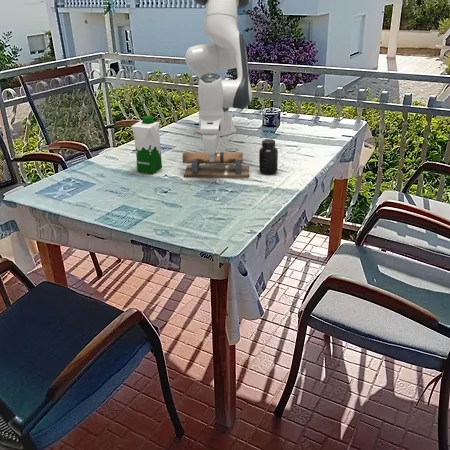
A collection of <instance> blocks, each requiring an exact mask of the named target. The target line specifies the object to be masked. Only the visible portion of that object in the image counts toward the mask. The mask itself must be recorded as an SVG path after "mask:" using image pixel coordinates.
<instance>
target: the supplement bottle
mask: <svg viewBox="0 0 450 450" xmlns="http://www.w3.org/2000/svg"><path fill="white" fill-rule="evenodd" d="M258 152H259V153H258V154H259V155H258V157H259V159H258V163H259V164H258V169H259V170H258V171H259V173H260V174H261V175H265V176H272V175H275V174H277V172H278V167H279V166H278V163H279V161H278V160H279V159H278V156H279V150H278V148H277V147H276V140H275V139H271V138H268V139H267V138H266V139H263V140H262V141H261V147H260V148H259V151H258Z"/></svg>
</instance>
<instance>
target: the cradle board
mask: <svg viewBox="0 0 450 450" xmlns="http://www.w3.org/2000/svg"><path fill="white" fill-rule="evenodd" d="M250 167H251V166H250V165H249V164H248V165H244V164H242V168H241V174H236V172H235V165H234V164H232V165H230V164H223V165H222V164H217V165H216V164H214V165H213V164H210V165H209V164H200V167H199V170H198V174H192V165H191V164H187V165H186V167H185V170H184V173H183V178H193V179H194V178H196V179H198V178H203V179H204V178H206V179H207V178H211V179H212V178H213V179H215V178H216V179H217V178H218V179H219V178H220V179H224V178H225V179H229V178H230V179H232V178H233V179H249V178H250Z"/></svg>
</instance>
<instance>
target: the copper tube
mask: <svg viewBox="0 0 450 450" xmlns="http://www.w3.org/2000/svg"><path fill="white" fill-rule="evenodd" d="M243 154H244V153H243V152H224V151H223V152H216V153H215V155H214V156H215V160H214V162H210V161H209V155H205V153H204V152H182V157H181V158H182V163H183V164H191V161H192V160H197V163H200V164H217V165H222V164H223V165H230V164H232V165H234V164H235V161H236V160H241V164H242V165H244V164H243V160H244V157H243V156H244V155H243Z"/></svg>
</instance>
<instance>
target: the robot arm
mask: <svg viewBox="0 0 450 450" xmlns="http://www.w3.org/2000/svg"><path fill="white" fill-rule="evenodd" d="M194 2H195V3H196V4H197V5H199V6H203V7H205V11H204V14H205V15H204V22H203V23H204V24H203V25H204V26H203V29H204V30H203V31H204V33H205V35H206V36H207V37H208V38H209V40H211V42H212V43H206V44H205V43H204V44H196V45H193V46H190V47H188V49H187V50H186V52H185V56H184V59H185V64H186V66H187V67H188V69H189V70H190V71H191V72H193V73H194V74H195V75H196V76H197V78H198V79H199V80H198V90H197V99H198V100H197V102H198V105H199V111H198V120H199V121H198V123H199V124H198V125H199V127H198V128H197V129H196V131H195V132H196V133H198V134H201V135H202V145H203V153H205V155H209V161H210V162H214V160H215V156H214V155H215V153H217V148H218V147H217V146H218V144H219V141H220V140H219V139H220V137H224V136H229V135H231V134H236V133H237V131H238V130H237V128H236V127H235V124H234V121H233V114H232V113H231V111H230V110H229V109H230V108H233V109H239V110H244V109H245V108H248V106H249V105H250V104H251V103H252V99H253V90H252V86H251V80H250V70H249V60H248V51H247V43H246V39H245V36H244V35H243V33H241V32H240V31H239V29H238V23H237V22H238V20H237V19H238V9H239V10H240V9H245V8H246V7H248V6H249V3H250V2H251V0H194ZM235 68H236V72H237V74H236V75H237V78H236V79H222V77H221V75H220V74H218V73H215V71H224V70H231V69H235Z"/></svg>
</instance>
